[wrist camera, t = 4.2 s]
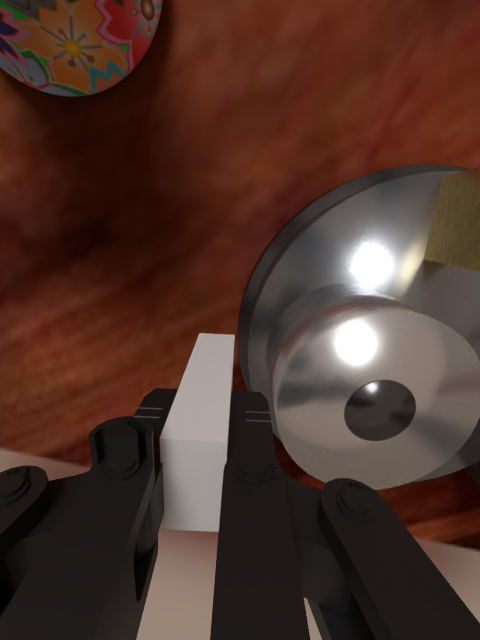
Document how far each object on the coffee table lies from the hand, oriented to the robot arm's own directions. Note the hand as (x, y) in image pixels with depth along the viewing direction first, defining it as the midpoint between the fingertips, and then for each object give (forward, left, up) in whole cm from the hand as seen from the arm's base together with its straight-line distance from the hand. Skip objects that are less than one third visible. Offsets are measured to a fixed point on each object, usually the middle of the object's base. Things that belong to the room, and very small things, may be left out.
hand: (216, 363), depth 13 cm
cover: (+6, 0, -1) cm, 6 cm away
